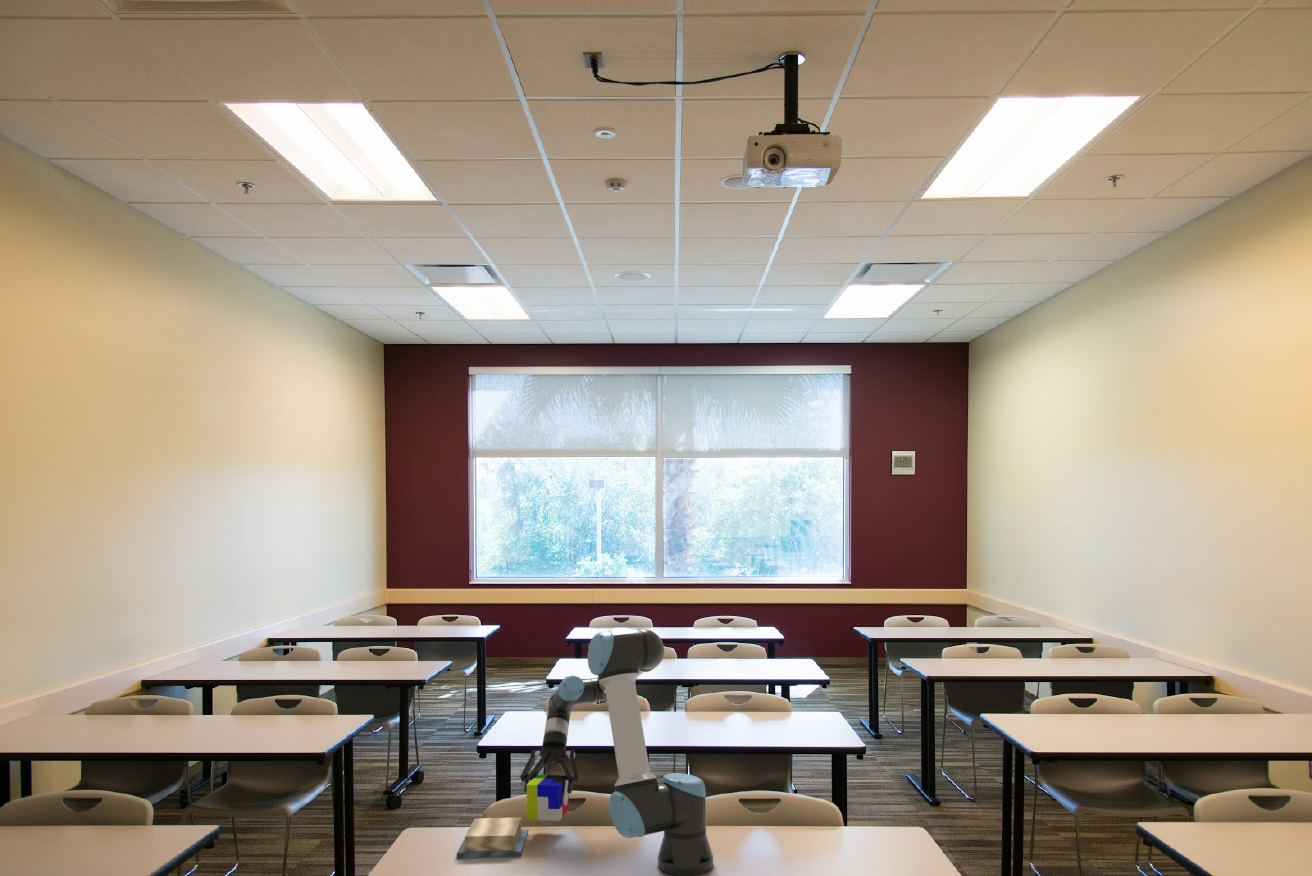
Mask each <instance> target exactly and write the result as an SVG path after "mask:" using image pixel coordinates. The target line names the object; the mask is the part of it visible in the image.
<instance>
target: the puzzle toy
mask: <svg viewBox="0 0 1312 876" xmlns="http://www.w3.org/2000/svg"><path fill="white" fill-rule="evenodd" d="M566 780H568V779H567V777H566V776H565V775H562V774H561V775H559V774H557V775H556V774H538V775H537V776H535V777H534V778H533V779H532V780H531V781H530V782H529V783H528V784H527V794H526V796H527V804H526V820H528V821H550V822H560V821H561V819H562V818H563V817H564V816H565V814H567V812H568V811H569V809H570V808H569V807H570V806H569V803H570V798H569V794H568V800H567V805H564V802H563V798H564V790H565V782H566Z"/></svg>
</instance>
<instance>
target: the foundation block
mask: <svg viewBox="0 0 1312 876" xmlns="http://www.w3.org/2000/svg"><path fill="white" fill-rule="evenodd" d="M528 832H529V829H522V817H486V818H485V817H482V818H481V817H480V818H474V819H473V821H472V822H471V825H470V827H469V828H468V830H467V832H466V834H465V835H464V838H463V840H462V843H461V845H460V846H459V848H458V850H457V852H456V860H458V859H493V858H494V859H495V858H497V859H499V858H521V857H522V856H523V852H524V850H523V848H524V849H525V847H524V845H525V846H526V844H525V842H526V843H527V841H526V839H527V840H528V838H527V836H528V837H529V835H528Z"/></svg>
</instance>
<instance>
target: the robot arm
mask: <svg viewBox="0 0 1312 876" xmlns="http://www.w3.org/2000/svg"><path fill="white" fill-rule="evenodd" d="M588 645H589V647H588V651H587V664H588V668H589V671H590V673H591V674H593V676H597V677H593V678H592V677H591V678H583V679H582V678H581V677H580V676H577V675H574V674H569V675H566V676H565V677H564V678H563V680H561V682H560V683H559V685H558V686H557V689H555V690H553V691H552V692H551V693H550V696H549V700H548V706H547V707H548V708H547V714H546V721H545V725H544V726H545V727H544V733H543V734H544V735H543V739H542V747H541V749H540V750H535V749H531V751H530V757H529V758H528V760H527V762H526V765H525V766H524V768H523V770H522V772H521V774H520V776H519V777H520V781H521V782H522V783H524V788H523V789H524V793H525V795H526V796H525V804H526V805H527V784H528V783H529V782H530V781H531V780H532V779H533V778H534V777H535V776H537V775H539V773H540V772H541V771H542V770H543V768H545V767H546V766H551V765H554V766H558V765H559V767H560V768H561V770H562V771H563V774H564V776H566V777H567V779H568V780H566V782H565V790H564V798H563V802H564V805H567V800H568V794H571V795H572V792H573V787H574V786H573V785H574V783H579V782H580V777H579V772H578V769H577V764H576V760H575V759H576V752H575V749H574V748H572V749H570V750H567V742H568V735H569V726H570V717H571V713H572V711H573V709H574V708H575V706H576V705H582V704H583V705H584V704H590V703H596V702H597V703H599V702H606V703H607V707H608V708H607V709H608V713H609V721H610V727H611V734H612V742H613V747H614V749H613V750H614V753H615V754H614V755H615V760H616V761H615V762H616V767H617V774H618V778H617V780H616V782H615V784H614V790H615V791H613V792H612V794H610V796H609V802H608V810H609V814H610V819H611V820H612V821H611V822H612V824H613V826H614V828H615V829H616V831H617V832H618V833H619V834H620V835H621V836H622V837H624V838H626V839H633V838H642V837H645V836H648V835H652V834H657V833H660V832H663V837H662V840H661V844H660V846H659V850H658V851H659V852H658V855H657V866H658V868H659V870H661V871H662V872H664V873H666V874H669V875H674V876H698V875H702V874H706V873H707V872H709V871H710V870H711V869H712V868H713V867H714V854H713V852H712V849H711V846H710V843H709V839H708V836H707V815H706V813H707V812H706V811H707V810H706V806H707V805H706V803H707V802H706V798H707V794H706V786H705V782H704V781H703V780H702V779H701V778H700V777H698V776H695V775H692V774H687V773H681V772H680V773H679V772H678V773H677V772H673V773H672V772H671V773H670V772H669V773H666V774H664V775H663V777H662V779H661V780H662V783H658V778H657V776H656V775H655V774H653V773H652V772H651V769H650V764H649V758H648V752H647V747H646V741H645V740H646V739H645V735H644V729H643V728H644V727H643V721H642V717H641V712H640V711H641V710H640V709H641V708H640V703H639V698H638V692H637V687H636V681H637V679H638V677H640V676H641V675H642V674H643V673H648V672H651V671H653V670H655V668H657V667H658V666H659V665H660V664H661V662H662V661H663V658H664V656H665V646H664V643H663V640H662V639H661V637H660V636H659V635H658V634H657V633H655V631H653V630H652V629H651V630H650V629H648V628H643V627H641V628H640V627H639V628H633V629H632V628H630V629H616V630H615V629H614V630H613V629H612V630H606V631H602V632H601V631H600V632H598V633H596V634H595V635H594V636H593V637H592V638H591V640H590V643H589V644H588ZM539 756H540V759H539V760H538V758H539ZM566 756H567V758H568V759H569V760H570V763H571V770H572V773H573V776H572V775H571V773H570V771H569V769H568V767H567V765H566V763H565V761H564V759H565V758H566ZM536 760H538V762H537V764H536V765H535V766H534V764H535V762H536Z"/></svg>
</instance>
